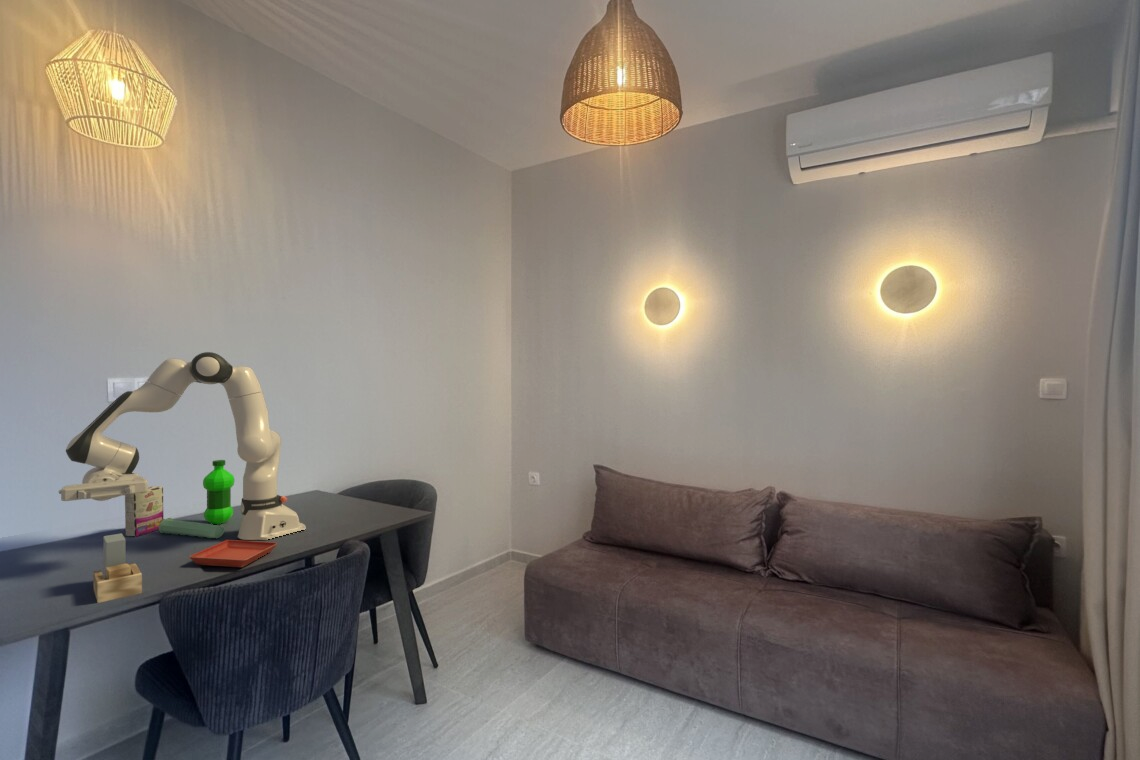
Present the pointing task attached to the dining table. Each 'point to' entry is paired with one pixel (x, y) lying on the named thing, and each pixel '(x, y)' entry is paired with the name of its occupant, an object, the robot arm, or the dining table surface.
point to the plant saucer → (233, 553)
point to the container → (190, 528)
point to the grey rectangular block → (113, 551)
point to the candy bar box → (143, 511)
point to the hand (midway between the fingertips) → (108, 493)
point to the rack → (117, 585)
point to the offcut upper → (118, 571)
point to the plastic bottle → (218, 494)
